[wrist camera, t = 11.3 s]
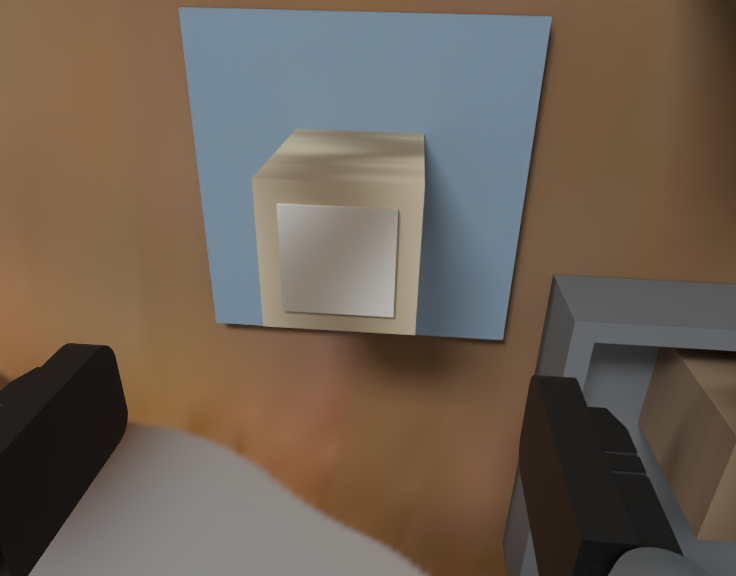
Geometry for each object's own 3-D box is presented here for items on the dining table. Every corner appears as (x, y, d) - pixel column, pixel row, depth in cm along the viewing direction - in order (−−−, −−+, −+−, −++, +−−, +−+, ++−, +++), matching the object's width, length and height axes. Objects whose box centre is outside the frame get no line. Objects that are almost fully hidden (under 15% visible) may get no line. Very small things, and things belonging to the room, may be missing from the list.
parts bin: (917, 294, 22) (1002, 345, 19) (774, 565, 29) (818, 637, 26) (553, 274, 23) (575, 321, 19) (502, 543, 30) (512, 609, 27)
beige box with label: (424, 133, 20) (424, 187, 15) (416, 252, 22) (414, 338, 17) (296, 129, 20) (250, 180, 15) (300, 246, 22) (261, 328, 17)
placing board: (548, 16, 19) (552, 16, 18) (501, 332, 24) (502, 339, 24) (185, 7, 19) (178, 7, 19) (220, 315, 25) (216, 322, 24)
